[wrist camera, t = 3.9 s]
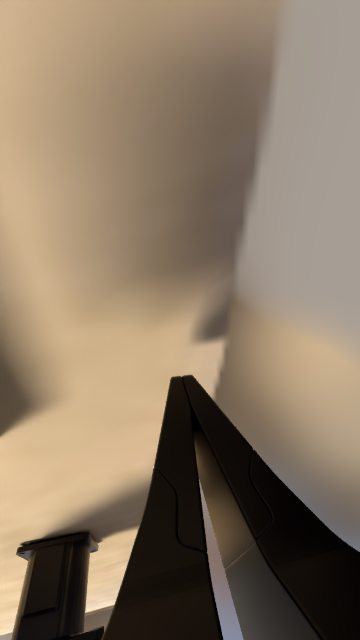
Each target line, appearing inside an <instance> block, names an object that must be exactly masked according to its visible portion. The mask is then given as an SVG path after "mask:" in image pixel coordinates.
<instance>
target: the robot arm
mask: <svg viewBox="0 0 360 640" xmlns="http://www.w3.org/2000/svg"><path fill="white" fill-rule="evenodd" d="M198 475H199V476H198ZM199 479H200V482H201V486H202V490H203V493H204V497H205V500H206V504H207V508H208V511H209V515H210V519H211V522H212V525H213V529H214V533H215V537H216V540H217V544H218V548H219V551H220V555H221V559H222V562H223V566H224V568H225V573H226V577H227V580H228V584H229V588H230V591H231V595H232V599H233V602H234V606H235V610H236V613H237V617H238V620H239V624H240V628H241V631H242V635H243V639H244V640H360V552H359V551H357V550H355V549H354V548H353V547H351V546H350V545H348V544H347V543H346V542H344V541H343V540H342V539H340V538H339V537H338V536H337V535H336V534H334V533H333V532H332V531H331V530H330V529H329V528H328V527H327V526H326V525H325V524H324V523H323V522H322V521H321V520H320V519H319V518H318V517H317V516H316V515H315V514H314V513H313V512H312V511H311V510H310V509H309V508H308V507H307V506H306V505H305V504H304V503H303V502H302V501H301V500H300V499H299V498H298V497H297V496H296V495H295V494H294V493H293V492H292V491H291V490H290V489H289V488H288V487H287V486H286V485H285V484H284V483H283V482H282V481H281V480H280V479H279V478H278V477H277V476H276V474H275V473H274V472H273V471H272V470H271V469H270V468H269V467H268V465H267V464H266V463H265V462H264V461H263V460H262V458H261V457H260V456H259V455H258V454H257V452H256V451H255V450H253V448H252V446H251V445H250V444H249V443H248V442H247V440H246V439H245V438H244V437H243V436H242V435H241V433H240V432H239V431H238V430H237V428H236V427H235V426H234V425H233V424H232V422H231V421H230V420H229V419H228V417H227V416H226V415H225V414H224V413H223V411H222V410H221V409H220V408H219V407H218V406H217V404H216V403H215V402H214V401H213V399H212V398H211V397H210V396H209V395H208V393H207V392H206V391H205V390H204V388H203V387H202V386H201V385H200V384H199V382H198V381H197V380H196V379H195V378H194V376H193V375H184V376H182V377H181V376H175V377H171V380H170V385H169V390H168V396H167V401H166V406H165V412H164V417H163V422H162V427H161V433H160V438H159V443H158V448H157V454H156V459H155V464H154V469H153V474H152V479H151V484H150V489H149V493H148V498H147V502H146V505H145V509H144V512H143V516H142V519H141V523H140V526H139V529H138V532H137V536H136V539H135V542H134V545H133V549H132V552H131V555H130V558H129V562H128V565H127V568H126V571H125V574H124V578H123V581H122V584H121V587H120V590H119V593H118V596H117V599H116V602H115V605H114V608H113V610H112V613H111V616H110V619H109V622H108V624H107V627H106V629H105V632H104V626H101V627H98V628H95V629H93V630H91V631H89V632H86V633H83V632H84V621H85V608H86V595H87V583H88V570H89V557H90V553H92V552H96V551H98V544H97V543H96V541H95V540H94V539H93V537H92V536H91V535H90V533H83V534H79V535H74V536H69V537H65V538H60V539H55V540H51V541H46V542H41V543H37V544H32V545H27V546H23V547H19V548H18V549H17V553H16V555H18V556H20V557H22V558H24V559H26V560H27V561H28V565H27V570H26V575H25V579H24V584H23V588H22V593H21V597H20V602H19V606H18V611H17V616H16V620H15V625H14V629H13V634H12V638H11V640H223V636H222V631H221V626H220V621H219V616H218V611H217V607H216V602H215V597H214V592H213V587H212V582H211V575H210V568H209V562H208V554H207V545H206V535H205V527H204V519H203V510H202V502H201V494H200V485H199ZM80 633H82V634H80Z"/></svg>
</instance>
